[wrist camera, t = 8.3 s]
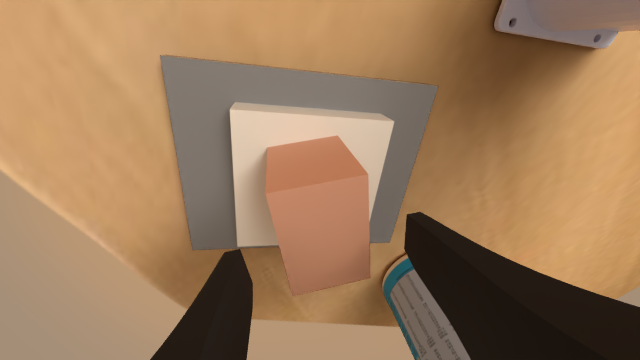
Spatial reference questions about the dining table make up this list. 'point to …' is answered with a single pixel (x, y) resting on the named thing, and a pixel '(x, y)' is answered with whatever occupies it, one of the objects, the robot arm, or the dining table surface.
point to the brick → (319, 213)
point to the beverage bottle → (420, 315)
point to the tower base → (281, 86)
